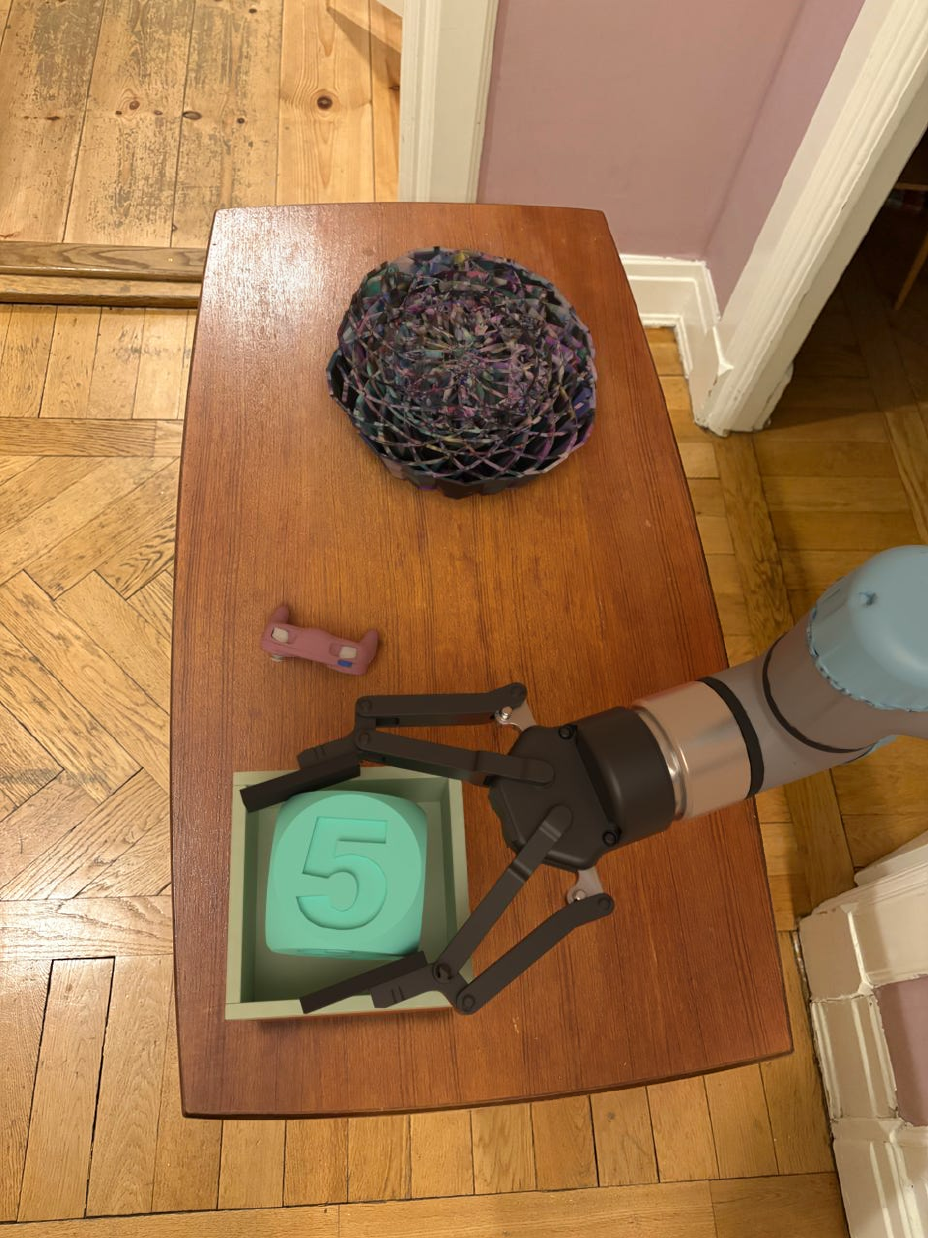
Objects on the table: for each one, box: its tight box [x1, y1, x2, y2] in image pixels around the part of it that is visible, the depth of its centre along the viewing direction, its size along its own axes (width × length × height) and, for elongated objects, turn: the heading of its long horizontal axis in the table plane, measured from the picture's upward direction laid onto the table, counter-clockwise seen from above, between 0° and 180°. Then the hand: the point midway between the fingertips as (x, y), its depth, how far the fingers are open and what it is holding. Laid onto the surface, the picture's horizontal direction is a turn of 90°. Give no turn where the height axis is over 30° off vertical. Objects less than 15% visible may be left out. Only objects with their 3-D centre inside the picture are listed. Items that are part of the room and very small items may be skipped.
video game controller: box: [258, 604, 379, 676], centre depth 82 cm, size 10×5×7 cm, turn 76°
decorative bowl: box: [325, 245, 599, 501], centre depth 93 cm, size 26×28×10 cm
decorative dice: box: [265, 791, 427, 960], centre depth 52 cm, size 8×8×8 cm
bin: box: [224, 765, 475, 1021], centre depth 58 cm, size 14×14×8 cm
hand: (272, 900), depth 50 cm, fingers closed on decorative dice, 10 cm apart
